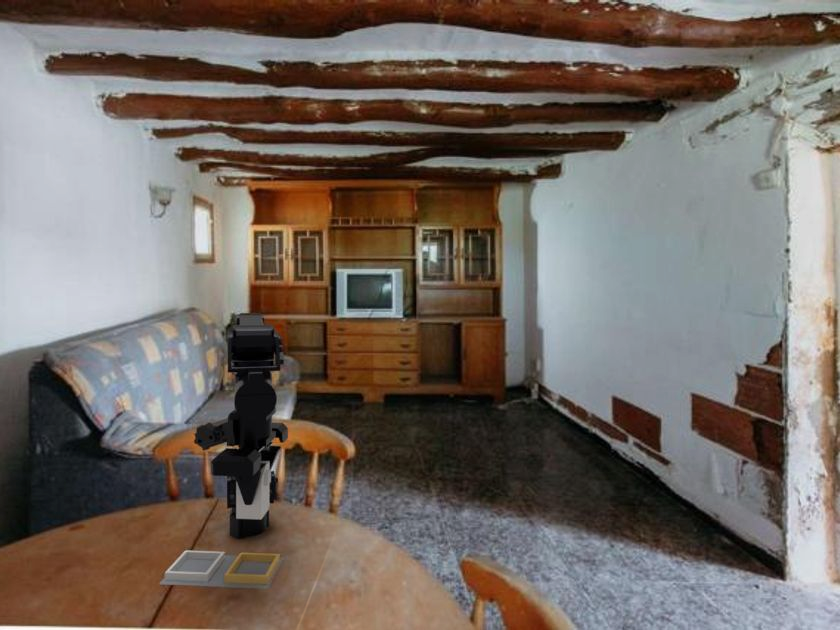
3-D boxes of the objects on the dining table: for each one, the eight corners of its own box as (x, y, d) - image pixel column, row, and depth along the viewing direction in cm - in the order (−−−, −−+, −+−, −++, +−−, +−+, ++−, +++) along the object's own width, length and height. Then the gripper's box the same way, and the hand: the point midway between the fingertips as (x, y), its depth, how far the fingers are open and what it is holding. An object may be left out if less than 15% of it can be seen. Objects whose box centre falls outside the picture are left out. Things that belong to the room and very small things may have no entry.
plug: (236, 518, 83) (236, 469, 82) (245, 507, 87) (245, 460, 86) (265, 519, 83) (265, 470, 82) (272, 508, 87) (273, 461, 86)
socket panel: (158, 587, 82) (158, 576, 81) (186, 557, 91) (186, 546, 90) (267, 592, 81) (267, 581, 81) (284, 560, 90) (284, 550, 90)
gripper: (226, 389, 93) (226, 475, 94) (174, 417, 75) (175, 524, 76) (289, 391, 93) (288, 477, 94) (252, 420, 74) (252, 527, 75)
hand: (253, 498), depth 85 cm, fingers closed on plug, 4 cm apart
